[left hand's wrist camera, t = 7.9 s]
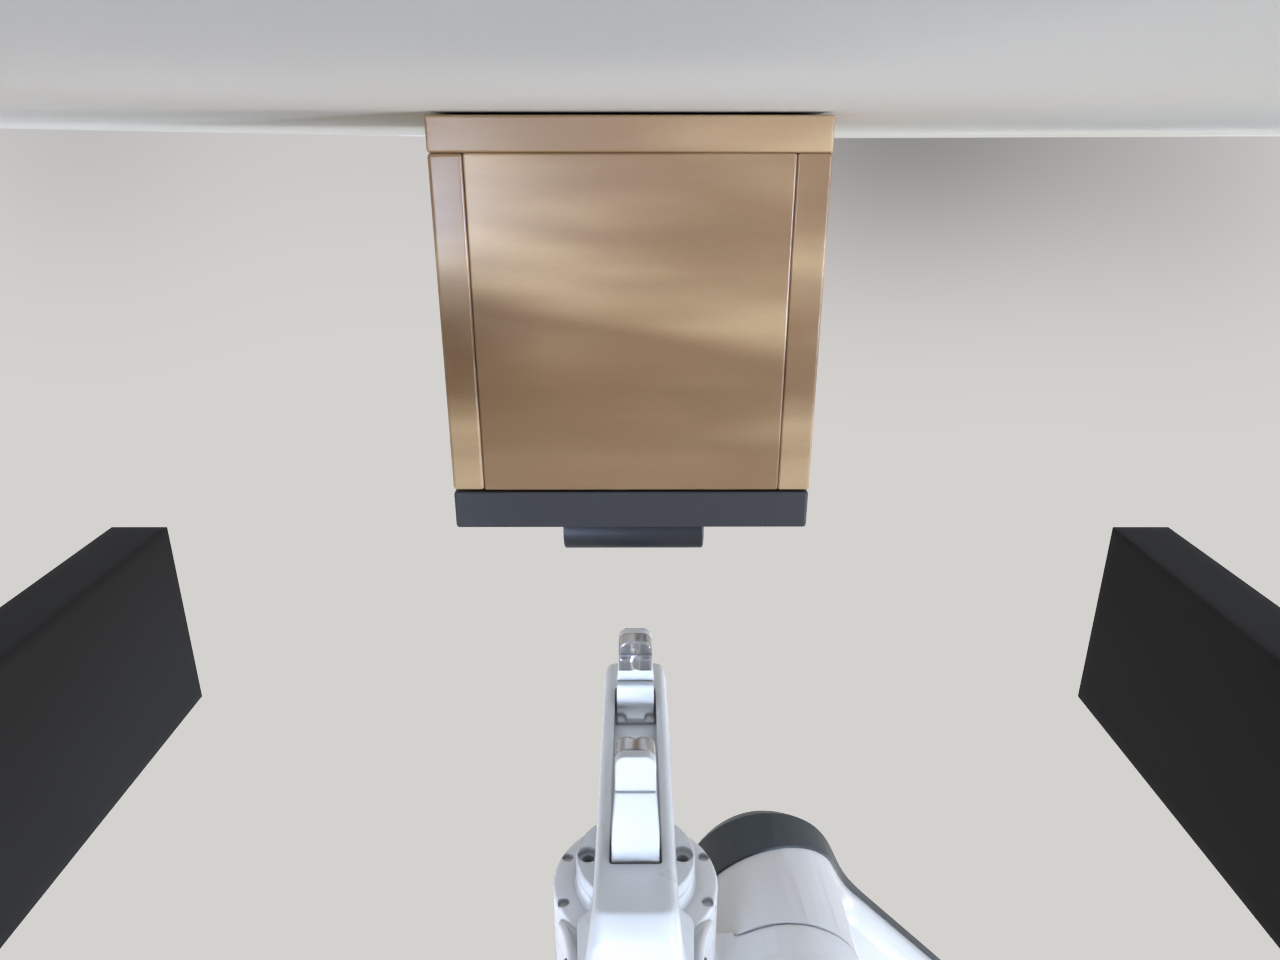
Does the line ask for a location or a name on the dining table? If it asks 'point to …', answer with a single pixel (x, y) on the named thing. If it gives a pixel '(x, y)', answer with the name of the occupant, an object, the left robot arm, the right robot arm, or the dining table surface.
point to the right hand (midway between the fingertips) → (635, 684)
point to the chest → (630, 297)
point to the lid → (631, 513)
